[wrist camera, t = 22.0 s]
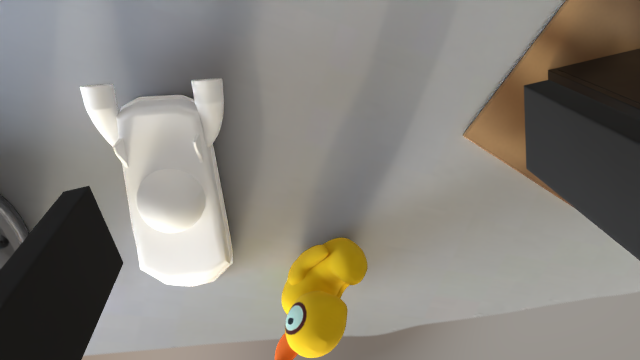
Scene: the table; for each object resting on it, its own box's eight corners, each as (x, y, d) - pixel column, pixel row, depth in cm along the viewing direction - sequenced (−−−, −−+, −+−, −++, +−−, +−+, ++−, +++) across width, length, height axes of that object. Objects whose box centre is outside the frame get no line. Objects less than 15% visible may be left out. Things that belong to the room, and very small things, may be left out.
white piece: (136, 286, 48) (120, 327, 43) (90, 76, 40) (63, 95, 35) (247, 277, 49) (244, 317, 44) (224, 69, 41) (217, 87, 35)
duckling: (297, 319, 51) (303, 397, 42) (255, 292, 50) (252, 369, 41) (373, 242, 49) (397, 310, 39) (331, 211, 47) (346, 274, 38)
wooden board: (572, 205, 49) (574, 207, 49) (462, 135, 45) (464, 136, 44) (735, 23, 43) (739, 24, 42) (625, -78, 39) (629, -79, 38)
